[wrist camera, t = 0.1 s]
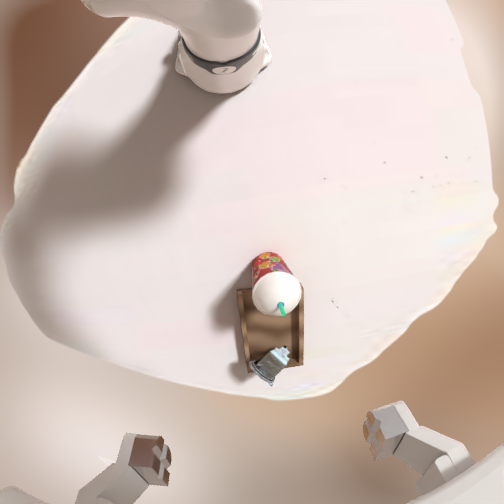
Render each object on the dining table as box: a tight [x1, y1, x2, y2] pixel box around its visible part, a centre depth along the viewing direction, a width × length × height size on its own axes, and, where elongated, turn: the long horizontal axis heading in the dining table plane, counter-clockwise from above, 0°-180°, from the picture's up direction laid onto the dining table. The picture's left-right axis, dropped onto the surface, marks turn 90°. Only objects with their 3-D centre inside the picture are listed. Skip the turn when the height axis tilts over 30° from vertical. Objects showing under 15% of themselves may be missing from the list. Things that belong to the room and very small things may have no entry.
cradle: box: [237, 283, 304, 373], centre depth 63 cm, size 22×14×3 cm, turn 5°
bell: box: [249, 345, 290, 386], centre depth 60 cm, size 10×7×12 cm
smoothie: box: [252, 252, 302, 316], centre depth 50 cm, size 8×8×20 cm
